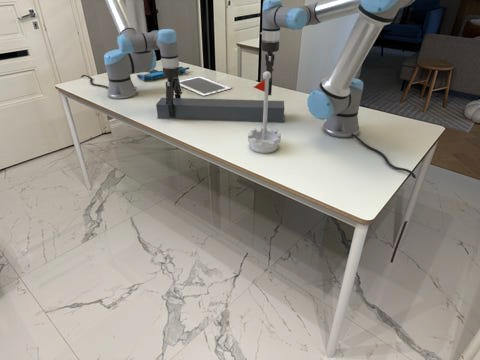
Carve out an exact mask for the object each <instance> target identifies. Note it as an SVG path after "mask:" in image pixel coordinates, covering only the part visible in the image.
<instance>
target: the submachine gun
mask: <svg viewBox="0 0 480 360" xmlns="http://www.w3.org/2000/svg"><path fill="white" fill-rule="evenodd" d="M178 67H179V70H180V74H184V73H185V72H186V71H187V70H190V67H189V66H187V67H183V66H178ZM148 72H149V73H145V74H143V73H136V78H138V79H139V80H141V81H145V82H146V81H152V80H153V81H156V79H159V78H165V77H164V76H163V70H157V69H154V70H153V71H148Z"/></svg>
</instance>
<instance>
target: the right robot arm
mask: <svg viewBox="0 0 480 360" xmlns="http://www.w3.org/2000/svg"><path fill="white" fill-rule="evenodd" d="M415 1H416V0H321V1H318V2H315V3H312V4H311V3H310V4H307V5H297V6H284V5H283V3H282V0H264V1H263V2H262V11H261V13H262V24H261V30H262V31H261V32H260V35H261V40H262V41H261V47H260V49H261V51H262V52H265V53H266V54H264V55H265V56H264V57H265V59H264V60H265V66H266V69H265V70H266V71H268V72H270V73H271V78H270V79H269V89H268V96H272V92H273V91H272V90H273V88H272V87H273V72H274V68H273V67H274V64H275V63H274V62H275V54H273V53H276V52H278V51H280V40H281V28H283V29H288V30H292V31H295V30H296V31H300V30H302V29H303V28H304V27H307V26H308V27H309V26H315V25H318V24H321V23H324V22H328V21H332V20H337V19H340V18H343V17H348V16H351V15H355V14H358V17H357V19H356V21H355V23H354V25H353V26H352V28H351V31H350V32H349V35H348V37H347V39H346V40H345V42H344V45H343V46H342V48H341V49H340V52H339V54H338V56H337V58H336V60H335V62H334V64H333V66H332V68H331V69H330V72H329V74H328V76H326V77H323V78H322V79H321V80H320V83H319V84H318V87H317V88H316V89H315V90H313V91H312V92H311V93H309V95H308V97H307V100H306V104H307V108H308V111H309V114H310V115H312V116H313V117H314V118H315V119H317V120H319V121H323V120H325V121H324V123H323V126H322V130H323V132H324V133H325V134H326V135H329V136H332V137H335V138H339V139H341V138H342V139H349V138H354V139H355V140H357V141H358V142H359V143H360V144H362V146H364V147H365V148H367V149H369V150H372V151H373V152H375V153H376V154H379V155H380V156H381V157H383V159H384V161H385V162H386V164H387V165H388V166H389V167H391V168H392V169H393V170H397V171H402V172H406V173H409V175H411V176H412V178H413V179H417V176H416V174H415V173H414V172H413V171H411V170H410V169H408V168H404V167H399V166H396V165H393V164H392V163H391V162H390V160H389V159H388V157H387V156H386V155H385V154H384V152H382V151H380V150H378V149H377V148H375V147H372V146H370V145H368V144H367V143H365V142H364V141H363V140H362V139H361V138H359V137H358V136H357V135H359V132H360V125H359V118H358V117H359V116H358V114H359V111H360V110H359V109H360V105H361V100H362V95H363V91H364V82H363V80H362V79H359V78H355V77H356V75H357V74H358V71H359V70H360V68H361V67H362V65H363V63H364V61H365V59H366V57H367V56H368V54H369V53H370V50H371V49H372V47H373V45H374V44H375V42H376V40H377V38H379V37H378V36H379V35H380V34H381V31H382V30H383V28H384V27H385V26H387V25H391V23H392V22H393V20H394V18H395V17H396V15H397V13H398V12H399V10H400V9H403V8H405V7H408V6H410V5H412V4H413V3H414V2H415ZM266 71H265V72H266ZM264 80H265V79H264V78H263V81H264ZM407 223H408V220H405V221H404V222H403V225H402V227H401V230H400V233H399V236H398V238H397V241H396V244H395V246H394V250H393V252H392V255H391V258H390V263H392V264H393V263H394V259H395V256H396V254H397V251H398V248H399V245H400V242H401V240H402V237H403V234H404V232H405V230H406V226H407Z"/></svg>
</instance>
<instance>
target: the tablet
mask: <svg viewBox="0 0 480 360" xmlns="http://www.w3.org/2000/svg"><path fill="white" fill-rule="evenodd" d="M179 82H180V86H181V88H184V89H186V90H187V91H190V92H193V93H195V94H197V95H199V96H202V97H207V96H210V95H214V94H217V93H221V92H224V91H229V90H232V87H230V86H227V85H224V84H222V83H219V82H216V81H214V80H212V79H208V78H206V77H203V76H201V75H199V76H194V77H191V78H186V79H182V80H179Z"/></svg>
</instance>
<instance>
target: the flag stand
mask: <svg viewBox="0 0 480 360" xmlns="http://www.w3.org/2000/svg"><path fill="white" fill-rule="evenodd" d="M262 78H263V80H262V81H261V82H259V83H257V84H256V85H254V86H253V88H254V89H257V90H259V91H261V92H263V100H264V112H263V122H262V127H260V130H257V129H256V128H253V129H251V130H250V132H248V133H247V141H248V143H249V144H250V146H249V147H250V149H251V150H252V151H254V152H256V153H261V154H269V153H273V152H276V151H277V150H278V147H279V144H280V143H281V141H282V133H280V132H278V131H279V130H277V129H275V128H272V129H271V130H268V122H267V111H268V101H269V95H268V89H269V79H270V78H271V73H270V72H268V71H264V72H263V73H262ZM264 79H265V80H264Z"/></svg>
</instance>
